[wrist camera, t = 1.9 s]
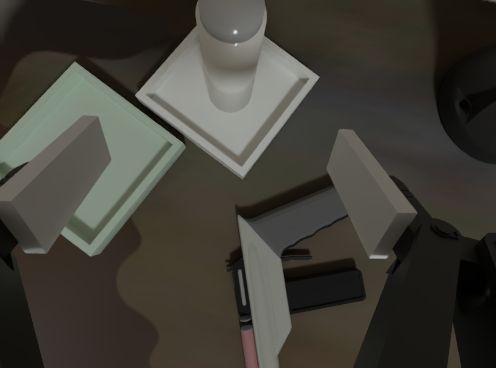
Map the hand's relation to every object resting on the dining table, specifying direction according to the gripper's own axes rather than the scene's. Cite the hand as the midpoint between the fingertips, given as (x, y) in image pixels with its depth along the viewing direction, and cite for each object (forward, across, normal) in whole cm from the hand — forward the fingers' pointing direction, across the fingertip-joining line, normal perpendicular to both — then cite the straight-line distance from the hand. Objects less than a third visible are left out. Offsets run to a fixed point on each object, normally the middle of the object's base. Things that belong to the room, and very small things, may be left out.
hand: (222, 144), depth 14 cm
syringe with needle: (0, +9, -23) cm, 25 cm away
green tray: (+12, -15, -10) cm, 22 cm away
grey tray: (+18, 0, -4) cm, 19 cm away
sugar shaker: (+18, 0, -3) cm, 18 cm away
